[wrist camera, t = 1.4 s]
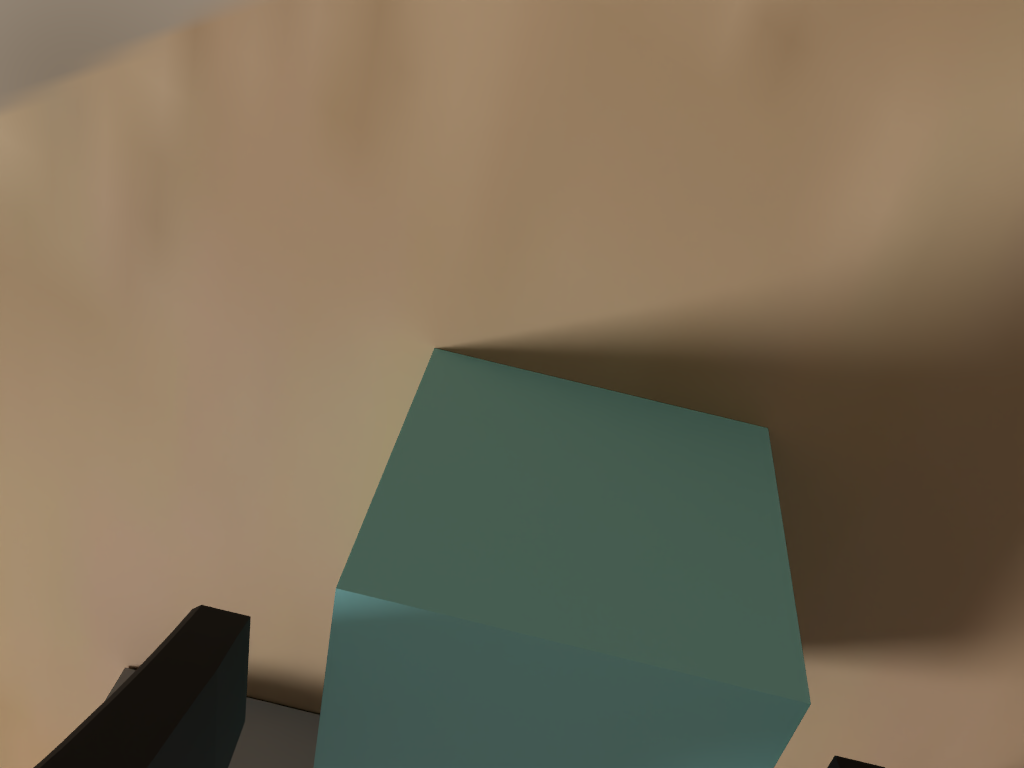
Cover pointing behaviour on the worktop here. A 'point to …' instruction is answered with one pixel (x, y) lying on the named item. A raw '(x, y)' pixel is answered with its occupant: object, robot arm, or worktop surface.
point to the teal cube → (564, 587)
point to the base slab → (269, 735)
